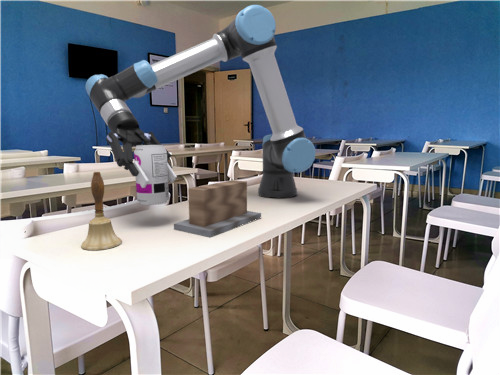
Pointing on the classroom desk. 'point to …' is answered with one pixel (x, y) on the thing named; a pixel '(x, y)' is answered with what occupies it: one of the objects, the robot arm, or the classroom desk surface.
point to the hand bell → (99, 221)
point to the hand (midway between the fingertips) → (160, 182)
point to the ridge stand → (217, 208)
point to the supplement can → (152, 174)
